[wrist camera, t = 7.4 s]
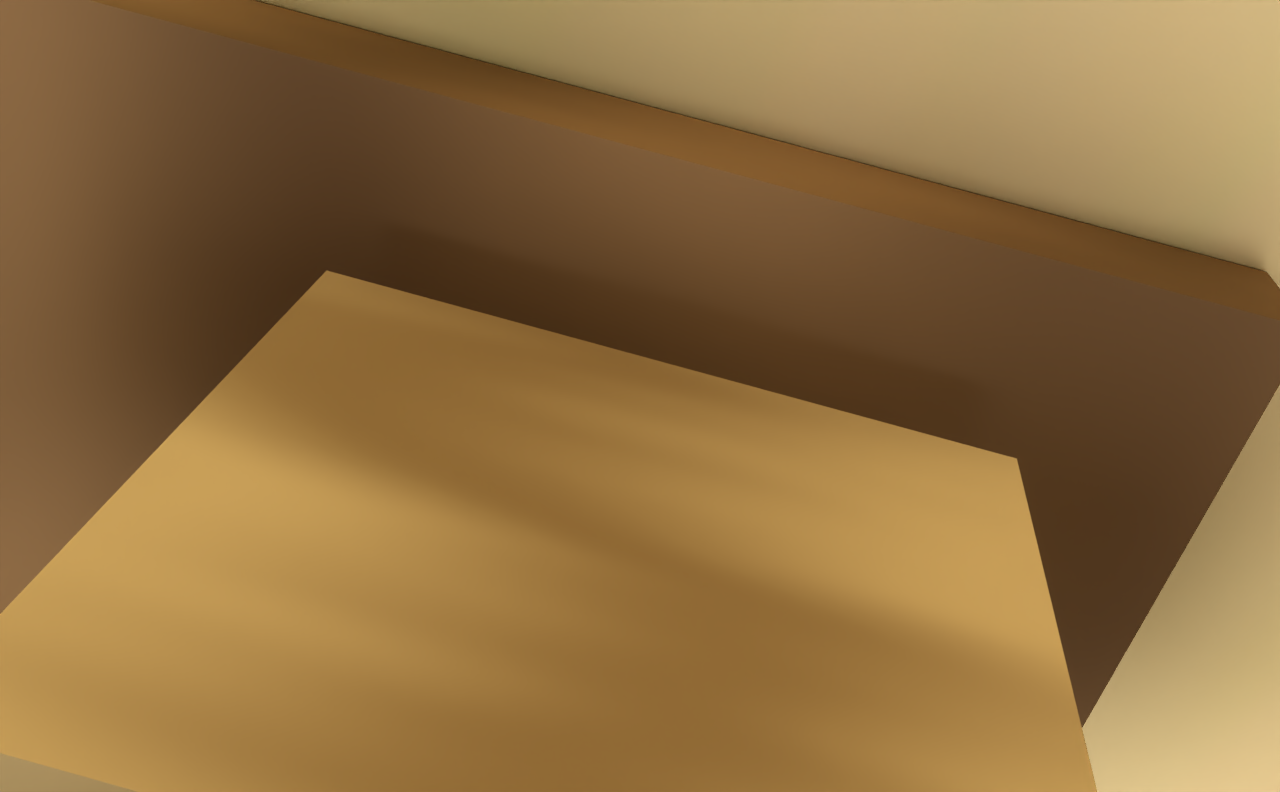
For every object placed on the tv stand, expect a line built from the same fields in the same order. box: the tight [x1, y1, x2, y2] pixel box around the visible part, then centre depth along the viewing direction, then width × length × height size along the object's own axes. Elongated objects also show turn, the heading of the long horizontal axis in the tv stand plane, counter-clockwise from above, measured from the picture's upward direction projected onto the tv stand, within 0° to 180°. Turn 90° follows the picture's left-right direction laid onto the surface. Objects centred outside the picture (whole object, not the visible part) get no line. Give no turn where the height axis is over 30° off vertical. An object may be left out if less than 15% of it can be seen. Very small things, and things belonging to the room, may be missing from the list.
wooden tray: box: [0, 0, 1280, 727], centre depth 12 cm, size 18×14×5 cm
